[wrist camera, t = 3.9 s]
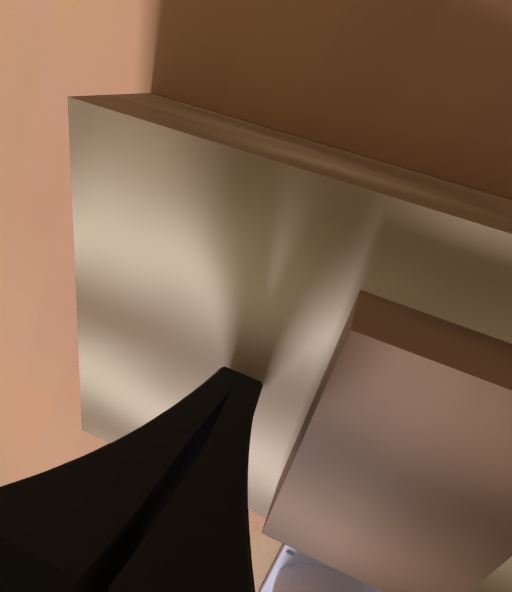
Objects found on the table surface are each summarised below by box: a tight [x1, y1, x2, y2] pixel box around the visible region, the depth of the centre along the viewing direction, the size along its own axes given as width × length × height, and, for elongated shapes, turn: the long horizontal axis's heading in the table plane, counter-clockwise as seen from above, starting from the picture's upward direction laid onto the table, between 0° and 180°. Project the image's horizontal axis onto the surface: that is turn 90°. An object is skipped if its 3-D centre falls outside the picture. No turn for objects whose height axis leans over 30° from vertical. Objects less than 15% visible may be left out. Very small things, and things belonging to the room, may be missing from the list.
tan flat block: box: [68, 93, 512, 592], centre depth 14 cm, size 14×20×4 cm
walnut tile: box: [262, 290, 512, 592], centre depth 11 cm, size 9×6×2 cm, turn 168°
